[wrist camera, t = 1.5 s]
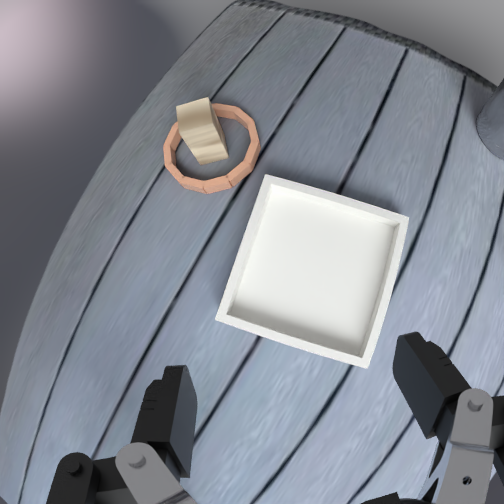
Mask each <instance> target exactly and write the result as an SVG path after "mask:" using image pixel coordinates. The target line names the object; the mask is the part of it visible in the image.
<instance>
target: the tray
mask: <svg viewBox="0 0 504 504" xmlns="http://www.w3.org/2000/svg"><path fill="white" fill-rule="evenodd" d="M408 221H409V217H406V216H403V215H400V214H398V213H395V212H392V211H389V210H386V209H383V208H380V207H377V206H374V205H370V204H367V203H364V202H361V201H358V200H355V199H352V198H348V197H345V196H342V195H338V194H335V193H332V192H328V191H325V190H322V189H318V188H315V187H311V186H308V185H304V184H301V183H297V182H293V181H290V180H286V179H282V178H278V177H275V176H271V175H267V174H265V177H264V180H263V182H262V185H261V188H260V191H259V194H258V197H257V199H256V202H255V205H254V208H253V211H252V214H251V217H250V219H249V222H248V225H247V228H246V231H245V234H244V237H243V239H242V242H241V245H240V248H239V251H238V254H237V257H236V260H235V263H234V266H233V268H232V271H231V274H230V277H229V280H228V283H227V286H226V289H225V292H224V295H223V298H222V301H221V303H220V306H219V309H218V312H217V315H216V318H215V320H217V321H220V322H223V323H226V324H228V325H231V326H234V327H237V328H239V329H242V330H245V331H248V332H251V333H254V334H257V335H259V336H262V337H265V338H268V339H271V340H274V341H277V342H280V343H283V344H286V345H289V346H293V347H296V348H299V349H302V350H305V351H308V352H312V353H315V354H318V355H321V356H325V357H328V358H331V359H335V360H338V361H342V362H345V363H349V364H352V365H356V366H359V367H363V368H366V369H368V366H369V363H370V361H371V358H372V355H373V352H374V349H375V346H376V343H377V340H378V337H379V334H380V331H381V328H382V324H383V321H384V318H385V315H386V311H387V308H388V304H389V301H390V297H391V294H392V290H393V286H394V283H395V279H396V275H397V271H398V267H399V263H400V258H401V254H402V250H403V245H404V241H405V236H406V231H407V226H408Z"/></svg>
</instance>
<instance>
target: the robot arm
mask: <svg viewBox="0 0 504 504" xmlns="http://www.w3.org/2000/svg"><path fill="white" fill-rule="evenodd" d="M476 124H477V130H478V133H479V136H480V138H481V139H482V141H483V143H484V144H485V145H486V147H487V148H488V149H489V150H490V151H491V152H492V153H493V154H495V155H496V156H498V157H499V158H501V159H504V79H503V80H502V82H501V83H500V85H499V86H498V87H497V89H496V90H495V92H494V93H493V94H492V96H491V97H490V98H489V100H488V101H487V102H486V104H485V105H484V106H483V110H482V111H481V113H480V114H479V115H478V117H477V121H476ZM393 375H394V378H395V381H396V382H397V384H398V386H399V388H400V390H401V392H402V393H403V395H404V397H405V399H406V401H407V403H408V405H409V407H410V408H411V410H412V412H413V414H414V416H415V418H416V420H417V422H418V424H419V426H420V428H421V430H422V432H423V434H424V436H425V438H426V439H429V438H432V437H434V436H437V438H438V440H439V441H438V443H437V445H436V449H435V452H434V456H433V459H432V462H431V465H430V468H429V471H428V474H427V477H426V480H425V483H424V485H423V487H422V489H421V491H420V493H419V495H418V497H417V499H410V498H402V499H399V496H398V494H397V492H395V493H392V494H389V495H385V496H382V497H379V498H375V499H372V500H368V501H365V502H363V503H361V504H484V503H485V500H486V495H487V491H488V486H489V481H490V476H491V470H492V464H494V466H495V468H496V471H497V473H498V475H499V477H500V479H501V481H502V483H503V485H504V396H496V397H491V396H490V395H489V394H488V393H487V392H485V391H483V390H481V389H476V388H473V389H472V388H471V387H470V386H469V384H468V383H467V381H466V380H465V379H464V377H463V376H462V375H461V373H460V372H459V371H458V369H457V368H456V367H455V366H454V364H452V362H451V360H450V359H449V358H447V355H446V354H445V353H444V351H443V350H442V349H441V348H440V347H439V346H437V345H436V344H434V343H433V342H431V341H428V342H426V341H425V340H424V338H423V337H422V336H421V335H420V333H419V332H412V333H408V334H404V335H400V336H399V337H398V339H397V345H396V350H395V356H394V361H393ZM140 409H141V411H140V412H139V415H138V418H137V422H136V426H135V429H134V433H133V436H132V440H131V443H130V444H128V445H126V446H124V447H123V448H122V449H121V450H120V451H119V452H118V453H117V456H115V457H111V458H106V459H100V460H94V461H92V460H91V459H90V458H89V457H88V456H87V455H85V454H83V453H78V452H76V453H70V454H68V455H66V456H65V457H63V458H62V459H61V460H60V462H59V464H58V466H57V469H56V473H55V476H54V479H53V482H52V485H51V489H50V492H49V495H48V499H47V502H46V504H197V503H196V502H195V501H194V499H193V498H192V497H191V496H190V495H189V494H188V493H187V492H186V491H185V490H184V489H183V487H182V486H181V485H180V477H181V478H190V469H191V459H192V450H193V441H194V432H195V423H196V414H197V397H196V392H195V389H194V386H193V383H192V380H191V377H190V374H189V370H188V368H187V366H186V365H177V366H166V367H165V370H164V374H163V377H162V380H153V382H152V383H151V384H150V385H149V386H148V388H147V389H146V391H145V395H144V398H143V402H142V405H141V408H140Z"/></svg>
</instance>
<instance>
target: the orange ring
mask: <svg viewBox="0 0 504 504" xmlns="http://www.w3.org/2000/svg"><path fill="white" fill-rule="evenodd" d="M211 105H212V107H213V109H214V111H215V114H216V116H219V117H225V118H230V119H236V120H237V121H238V122H239V123H241V124H242V125H243V126H244V127H245V128H246V129H247V130H249V134H250V138H251V143H250V146H249V148H248V151H247V153H246V156H245V158H244V161H242V162H241V163H240V164H239V165H238V166H236V167H235V168H234V169H233V170H232V171H231V172H229V173H228V174H227V175H225V176H221V177H217V178H214V179H210V180H206V181H201V180H197V179H193V178H189V177H185V176H183V175H182V174H181V173H180V171H179V170H178V169H177V166H176V157H175V150H176V148H177V146H178V144H179V141H180V139H181V137H182V136H181V135H180V133H179V129H178V121H177V122H176V123H175V124H174V126H172V128H171V130H170V132H169V134H168V136H167V139H166V141H165V143H164V146H163V149H164V160H165V166H166V168H167V169H168V170H169V172H170V173H171V174H172V175H173V176H174V177H175V178H176V180H177V181H178V182H179V183H180V184H181V185H182V186H183V187H184V188H186V189H190V190H193V191H197V192H201V193H205V194H207V193H208V194H209V193H213V192H217V191H221V190H225V189H229V188H232V186H233V187H234V186H235V185H236V184H237V183H239V182H240V181H241V180H242V179H243V178H244V177H246V176H247V175H248V174H249V173H250V172H252V170H253V168H254V166H255V163H256V160H257V158H258V155H259V152H260V150H261V146H260V142H259V138H258V134H257V130H256V127H255V123H254V120H253V119H252V118H251V117H249V116H248V115H247V114H246V113H245V112H243V111H242V110H241V109H240V108H238V107H236V106H230V105H224V104H217V103H215V104H211Z"/></svg>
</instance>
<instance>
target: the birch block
mask: <svg viewBox="0 0 504 504" xmlns="http://www.w3.org/2000/svg"><path fill="white" fill-rule="evenodd" d="M176 109H177V119H178V129H179V133H180V135H181V136H182V138H183V139H184V141H185V142H186V144H187V145H188V147H189V148H190V150H191V151H192V153H193V154H194V156H195V157H196V159H197V160H198V162H199V163H200V165H204V164H208V163H211V162H215V161H219V160H223V159H227V158H229V155H228V150H227V145H226V140H225V135H224V132H223V130H222V127H221V125H220V123H219V121H218V118H217V116H216V114H215V111H214V109H213V107H212V105H211V102H210V100H209V98H208V97H206V98H203V99H199V100H196V101H193V102H189V103H186V104H183V105H180V106H177V107H176Z"/></svg>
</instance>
